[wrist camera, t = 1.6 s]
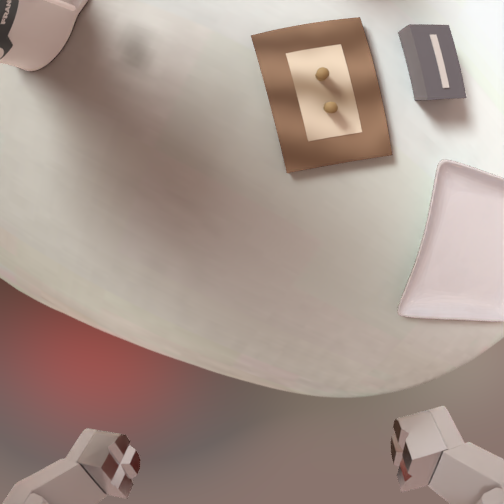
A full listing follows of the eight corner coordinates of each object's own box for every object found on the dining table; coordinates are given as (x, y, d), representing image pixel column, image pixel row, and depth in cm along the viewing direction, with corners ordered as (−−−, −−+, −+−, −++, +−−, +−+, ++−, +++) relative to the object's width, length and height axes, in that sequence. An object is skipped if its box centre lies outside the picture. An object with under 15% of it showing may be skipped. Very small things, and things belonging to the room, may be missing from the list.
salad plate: (498, 311, 40) (507, 323, 37) (390, 304, 42) (395, 318, 38) (540, 187, 30) (554, 194, 27) (427, 152, 32) (438, 157, 29)
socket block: (397, 32, 26) (409, 24, 23) (434, 31, 25) (449, 25, 22) (414, 100, 30) (428, 99, 26) (450, 97, 29) (466, 98, 25)
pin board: (252, 38, 29) (247, 29, 26) (357, 20, 27) (364, 10, 23) (287, 170, 36) (286, 178, 32) (388, 153, 33) (399, 158, 29)
